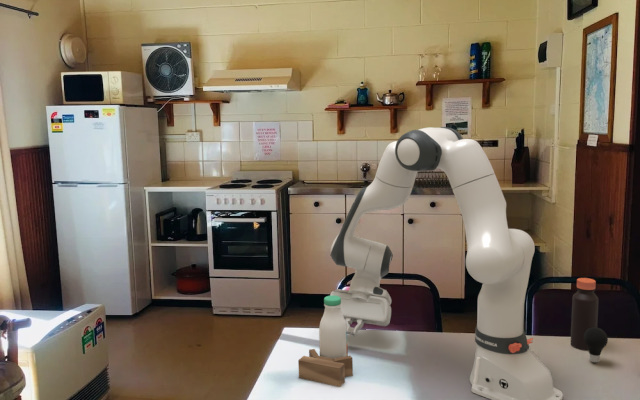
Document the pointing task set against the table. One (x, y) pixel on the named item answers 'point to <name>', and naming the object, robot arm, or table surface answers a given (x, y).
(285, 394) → the table surface
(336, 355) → the milk bottle
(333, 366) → the cradle
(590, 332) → the light bulb
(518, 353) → the robot arm
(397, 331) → the table surface
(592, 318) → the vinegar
